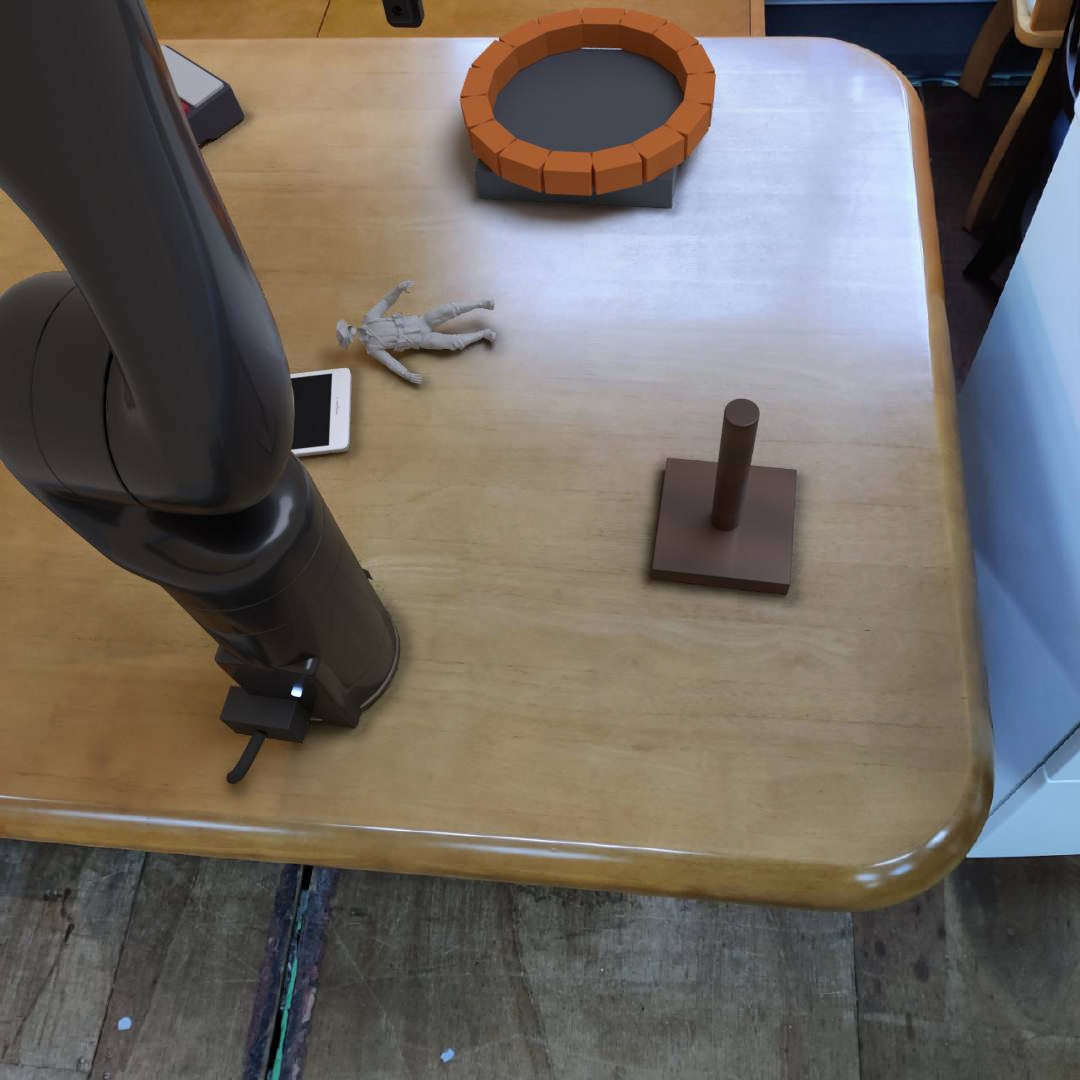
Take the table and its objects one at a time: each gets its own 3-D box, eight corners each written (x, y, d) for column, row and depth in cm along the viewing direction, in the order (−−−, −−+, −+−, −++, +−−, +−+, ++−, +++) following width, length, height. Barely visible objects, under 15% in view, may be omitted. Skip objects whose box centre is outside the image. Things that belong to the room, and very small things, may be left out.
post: (787, 594, 63) (820, 486, 51) (651, 579, 65) (653, 470, 53) (794, 480, 67) (826, 356, 55) (666, 468, 69) (671, 345, 57)
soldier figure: (500, 378, 75) (348, 389, 71) (482, 375, 80) (338, 385, 76) (495, 277, 74) (338, 282, 70) (476, 279, 78) (329, 284, 74)
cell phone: (155, 395, 76) (152, 390, 76) (352, 371, 76) (350, 366, 75) (143, 476, 73) (139, 471, 72) (349, 452, 72) (347, 447, 71)
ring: (700, 201, 77) (702, 177, 75) (442, 189, 81) (437, 165, 79) (722, 34, 87) (724, 9, 85) (492, 30, 91) (488, 6, 89)
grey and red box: (37, 125, 89) (161, 36, 93) (63, 161, 93) (181, 74, 97) (101, 173, 85) (228, 77, 89) (125, 209, 89) (247, 116, 93)
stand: (671, 208, 81) (672, 179, 79) (479, 198, 84) (474, 170, 82) (691, 80, 89) (692, 50, 87) (515, 75, 92) (511, 46, 90)
